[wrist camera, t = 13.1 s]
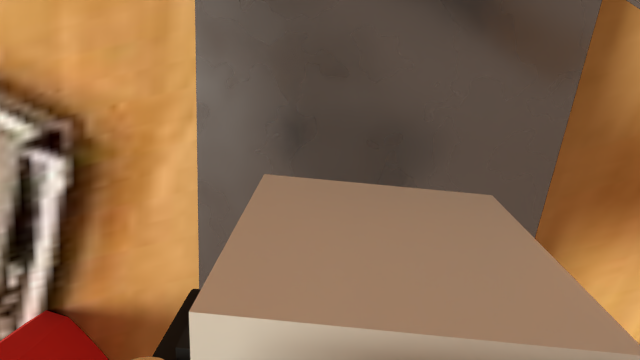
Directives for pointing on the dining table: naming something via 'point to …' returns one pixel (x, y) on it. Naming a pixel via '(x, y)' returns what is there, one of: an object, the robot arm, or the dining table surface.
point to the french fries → (49, 341)
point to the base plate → (383, 98)
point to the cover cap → (392, 282)
